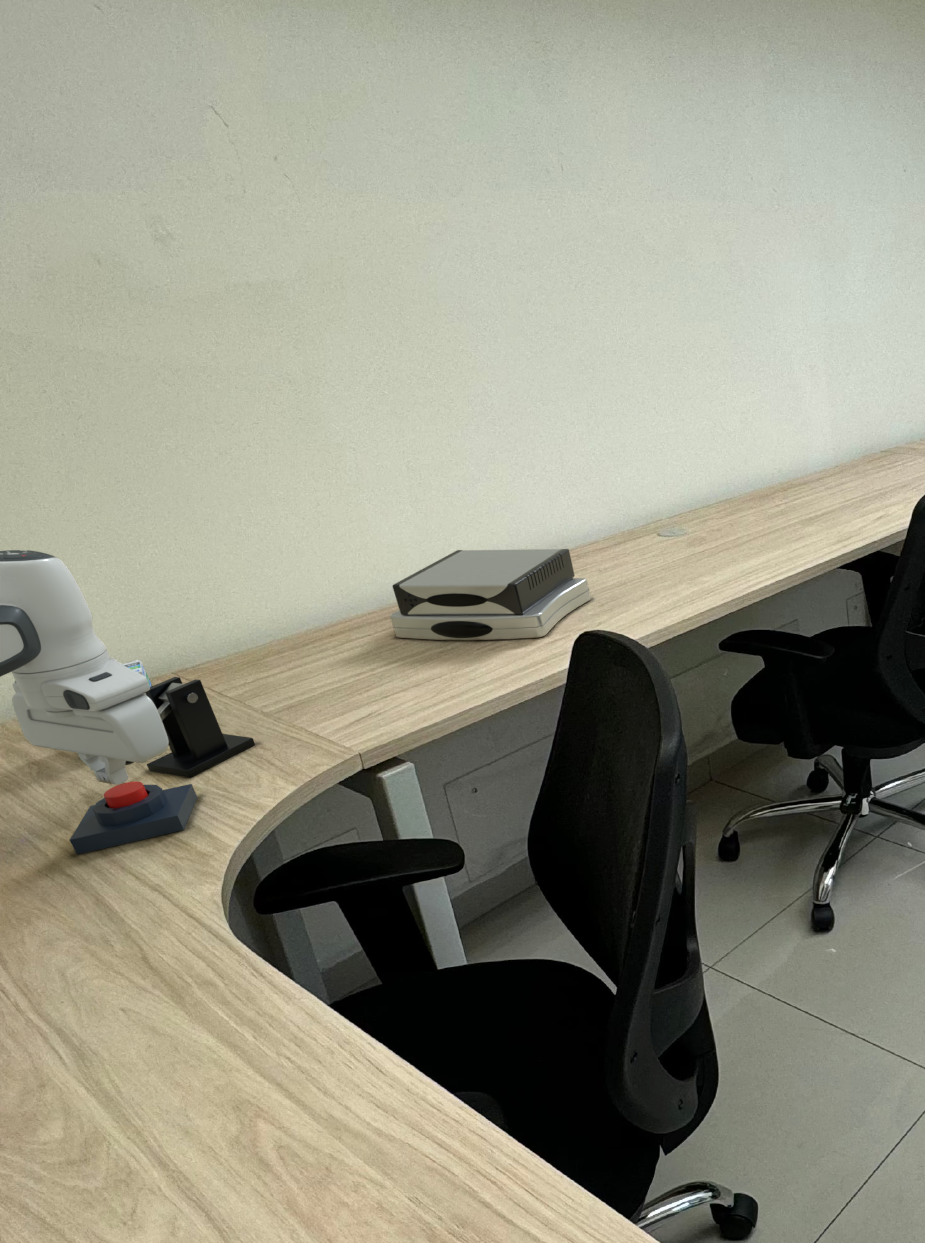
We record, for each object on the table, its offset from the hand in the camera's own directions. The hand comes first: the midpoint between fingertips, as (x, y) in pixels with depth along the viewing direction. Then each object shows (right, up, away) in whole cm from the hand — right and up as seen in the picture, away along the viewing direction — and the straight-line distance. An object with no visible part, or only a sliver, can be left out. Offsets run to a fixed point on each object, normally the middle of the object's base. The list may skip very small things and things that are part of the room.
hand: (114, 781), depth 122 cm
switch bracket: (-4, +2, +19) cm, 20 cm away
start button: (+1, -3, +2) cm, 3 cm away
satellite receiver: (+16, +26, +68) cm, 75 cm away
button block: (+1, -6, +3) cm, 7 cm away
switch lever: (-5, +6, +13) cm, 15 cm away
